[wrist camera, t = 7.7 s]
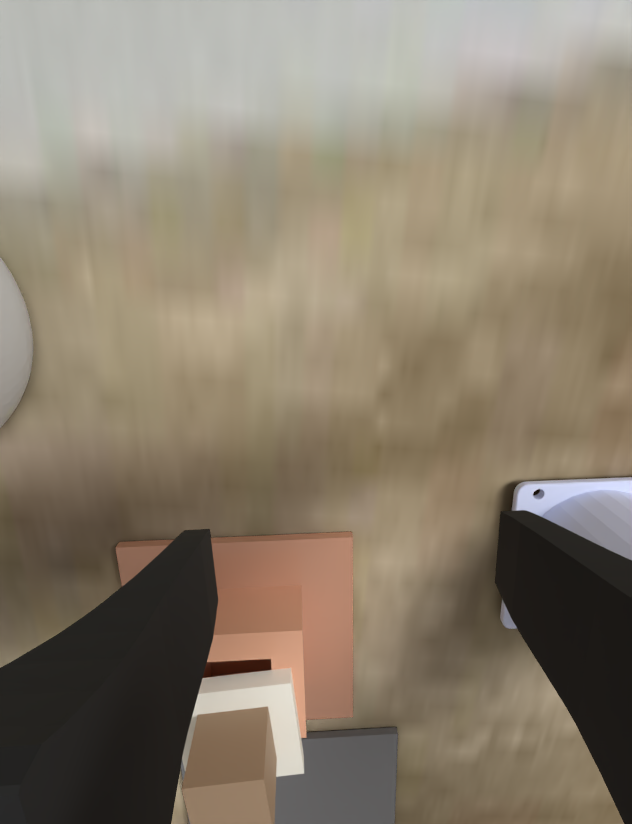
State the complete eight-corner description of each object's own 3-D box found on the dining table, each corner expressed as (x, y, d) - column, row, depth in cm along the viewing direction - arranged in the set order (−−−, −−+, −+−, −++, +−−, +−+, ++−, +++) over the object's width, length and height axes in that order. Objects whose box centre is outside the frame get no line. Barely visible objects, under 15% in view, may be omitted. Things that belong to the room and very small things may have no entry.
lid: (290, 667, 21) (290, 753, 17) (303, 756, 22) (305, 852, 18) (171, 681, 21) (145, 770, 17) (192, 769, 22) (172, 868, 18)
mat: (396, 727, 26) (397, 733, 26) (391, 871, 30) (392, 879, 30) (179, 739, 26) (177, 746, 26) (200, 884, 30) (199, 892, 29)
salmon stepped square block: (351, 531, 23) (361, 577, 19) (351, 708, 26) (360, 774, 23) (119, 541, 22) (88, 590, 19) (148, 720, 26) (126, 788, 22)
